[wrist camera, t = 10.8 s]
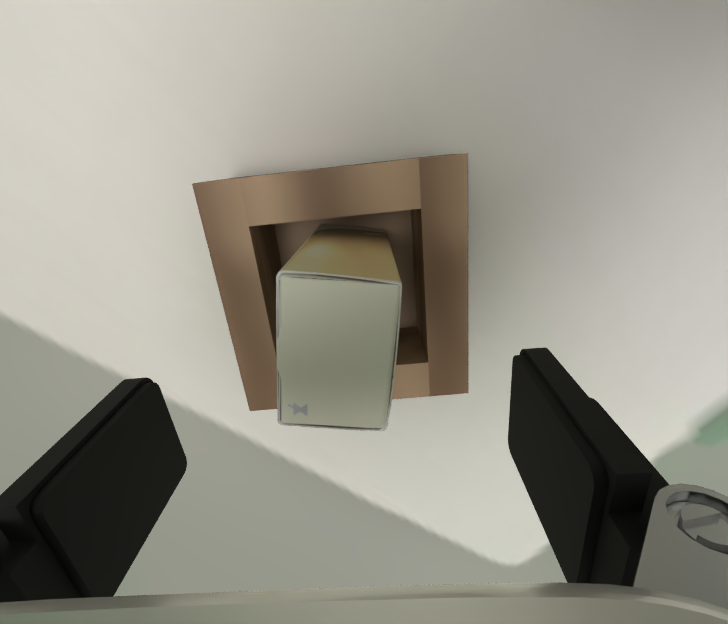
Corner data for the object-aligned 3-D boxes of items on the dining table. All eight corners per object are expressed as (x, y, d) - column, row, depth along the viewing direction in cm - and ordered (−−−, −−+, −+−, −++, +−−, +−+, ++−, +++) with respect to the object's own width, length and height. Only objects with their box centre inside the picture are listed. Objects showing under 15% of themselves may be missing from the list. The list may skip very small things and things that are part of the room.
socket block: (443, 154, 23) (467, 153, 18) (448, 346, 28) (468, 392, 22) (233, 178, 24) (192, 183, 18) (272, 361, 29) (249, 411, 23)
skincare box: (378, 318, 26) (388, 441, 15) (315, 314, 26) (275, 433, 15) (388, 223, 24) (408, 281, 12) (318, 217, 24) (273, 271, 12)
